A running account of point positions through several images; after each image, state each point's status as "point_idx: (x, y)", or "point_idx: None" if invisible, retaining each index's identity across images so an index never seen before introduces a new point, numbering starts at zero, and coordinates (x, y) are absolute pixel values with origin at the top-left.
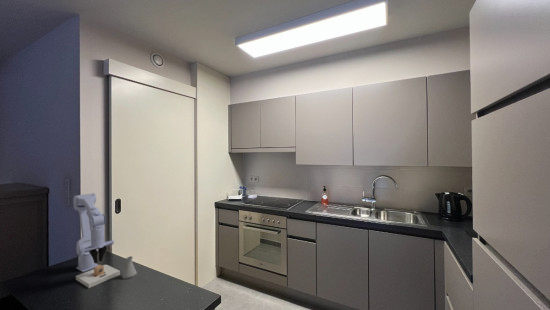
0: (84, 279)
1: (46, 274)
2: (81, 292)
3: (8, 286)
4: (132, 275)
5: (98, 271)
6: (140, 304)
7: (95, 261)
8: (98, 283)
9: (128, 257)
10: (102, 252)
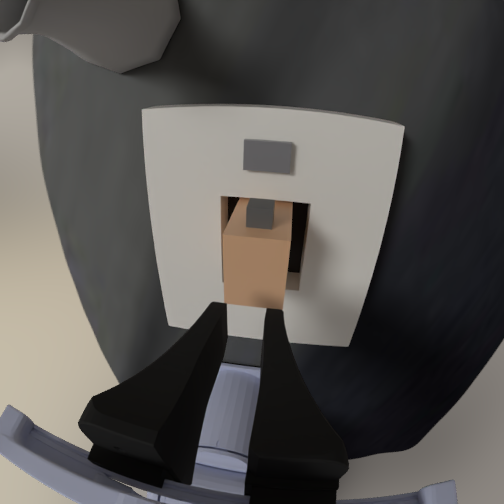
0: (368, 248)
1: (343, 439)
2: (444, 116)
3: (422, 438)
4: None
5: (280, 222)
6: None
7: (284, 328)
8: (326, 111)
9: (7, 32)
10: (172, 389)
